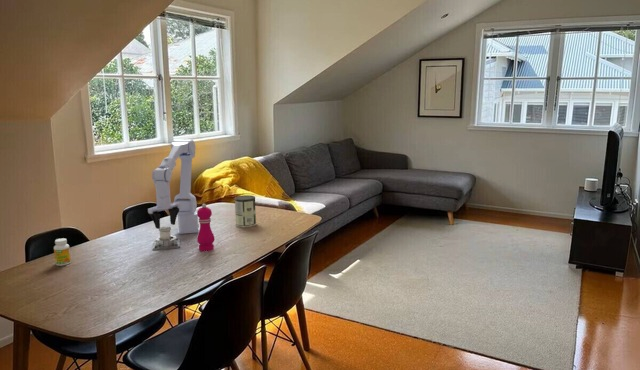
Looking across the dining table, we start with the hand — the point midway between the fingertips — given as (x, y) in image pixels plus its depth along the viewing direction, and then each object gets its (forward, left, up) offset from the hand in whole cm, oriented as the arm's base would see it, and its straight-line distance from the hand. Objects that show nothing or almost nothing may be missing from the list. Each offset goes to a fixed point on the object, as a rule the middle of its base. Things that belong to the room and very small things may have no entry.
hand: (165, 226), depth 211 cm
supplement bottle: (+39, +13, -9) cm, 41 cm away
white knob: (0, 0, -8) cm, 8 cm away
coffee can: (-37, -23, -9) cm, 45 cm away
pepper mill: (-16, +11, -9) cm, 21 cm away
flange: (0, 0, -9) cm, 9 cm away
